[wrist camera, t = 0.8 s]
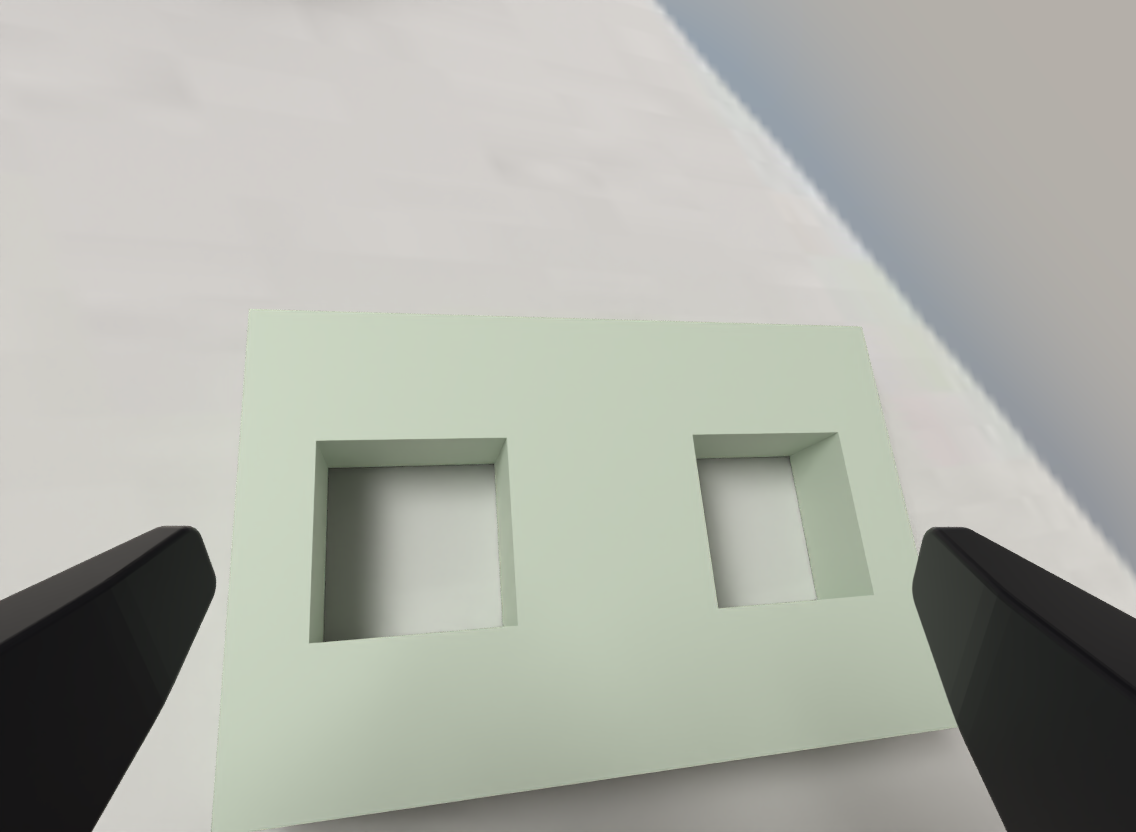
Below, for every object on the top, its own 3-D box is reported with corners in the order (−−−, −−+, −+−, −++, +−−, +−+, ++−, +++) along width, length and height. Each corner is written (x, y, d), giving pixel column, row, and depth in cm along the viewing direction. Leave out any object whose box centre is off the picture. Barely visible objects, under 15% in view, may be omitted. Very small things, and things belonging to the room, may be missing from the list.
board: (813, 360, 26) (861, 326, 23) (890, 716, 22) (959, 726, 19) (269, 352, 21) (249, 308, 18) (242, 806, 17) (210, 837, 14)
